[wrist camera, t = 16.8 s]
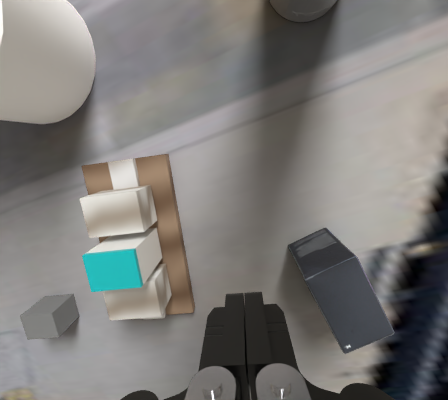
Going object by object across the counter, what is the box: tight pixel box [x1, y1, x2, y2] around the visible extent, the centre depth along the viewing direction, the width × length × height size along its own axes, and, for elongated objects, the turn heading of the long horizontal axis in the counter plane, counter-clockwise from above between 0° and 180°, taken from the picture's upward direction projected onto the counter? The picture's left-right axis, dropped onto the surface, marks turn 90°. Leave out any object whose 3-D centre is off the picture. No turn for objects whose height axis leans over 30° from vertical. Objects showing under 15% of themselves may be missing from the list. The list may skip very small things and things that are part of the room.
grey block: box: [20, 294, 79, 340], centre depth 41 cm, size 4×5×5 cm
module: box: [82, 228, 162, 292], centre depth 33 cm, size 4×6×8 cm
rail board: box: [80, 154, 195, 321], centre depth 36 cm, size 24×12×7 cm, turn 8°
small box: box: [288, 228, 394, 354], centre depth 33 cm, size 11×6×10 cm, turn 29°
